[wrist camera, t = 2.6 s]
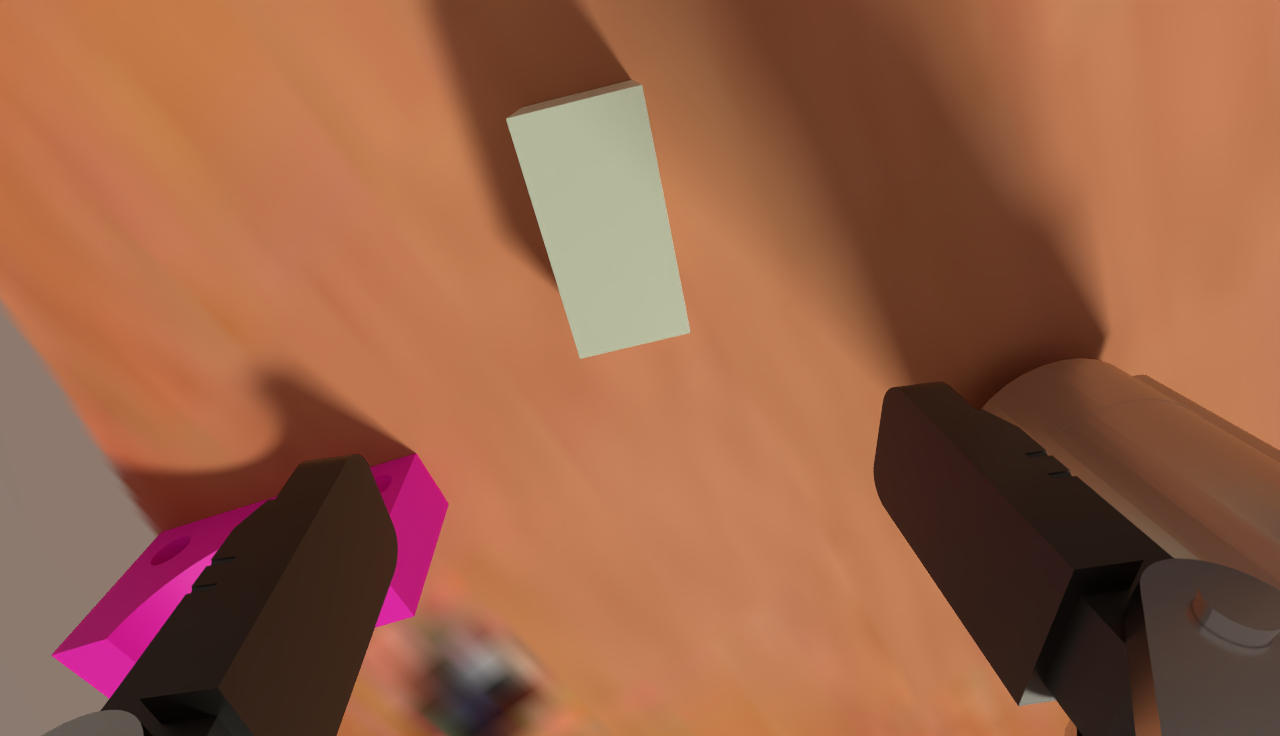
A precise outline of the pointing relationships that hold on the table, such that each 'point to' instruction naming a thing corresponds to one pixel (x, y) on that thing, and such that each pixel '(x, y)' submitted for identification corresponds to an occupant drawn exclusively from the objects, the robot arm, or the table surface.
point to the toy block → (182, 554)
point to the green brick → (602, 216)
